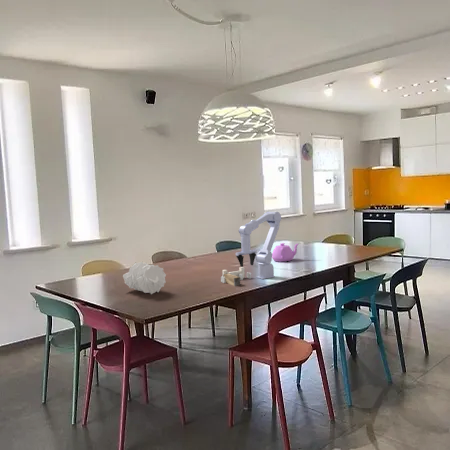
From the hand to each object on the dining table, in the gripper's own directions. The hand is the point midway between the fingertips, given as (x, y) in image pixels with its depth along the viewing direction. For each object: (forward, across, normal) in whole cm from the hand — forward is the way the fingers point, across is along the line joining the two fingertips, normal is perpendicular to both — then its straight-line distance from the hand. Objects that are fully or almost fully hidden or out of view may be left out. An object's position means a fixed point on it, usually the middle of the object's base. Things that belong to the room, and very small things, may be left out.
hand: (246, 265), depth 296 cm
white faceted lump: (+10, +62, -18) cm, 65 cm away
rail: (+10, +11, -1) cm, 15 cm away
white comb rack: (+10, +3, -9) cm, 14 cm away
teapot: (+10, -64, -44) cm, 79 cm away
